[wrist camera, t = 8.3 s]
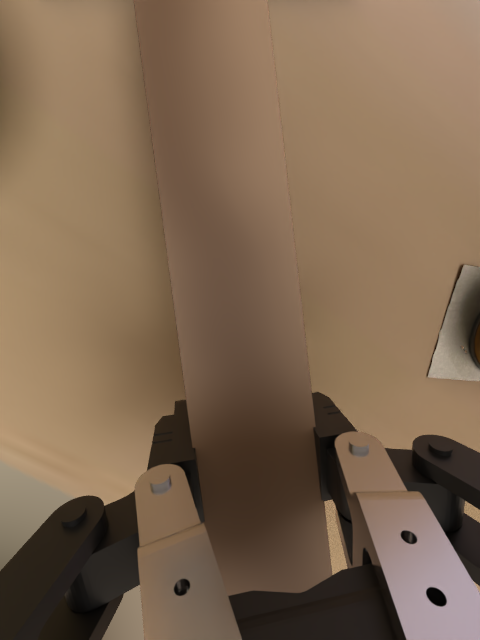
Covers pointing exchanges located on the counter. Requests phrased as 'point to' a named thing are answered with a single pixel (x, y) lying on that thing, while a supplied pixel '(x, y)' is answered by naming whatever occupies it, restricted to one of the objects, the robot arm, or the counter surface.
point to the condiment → (460, 332)
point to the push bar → (235, 287)
